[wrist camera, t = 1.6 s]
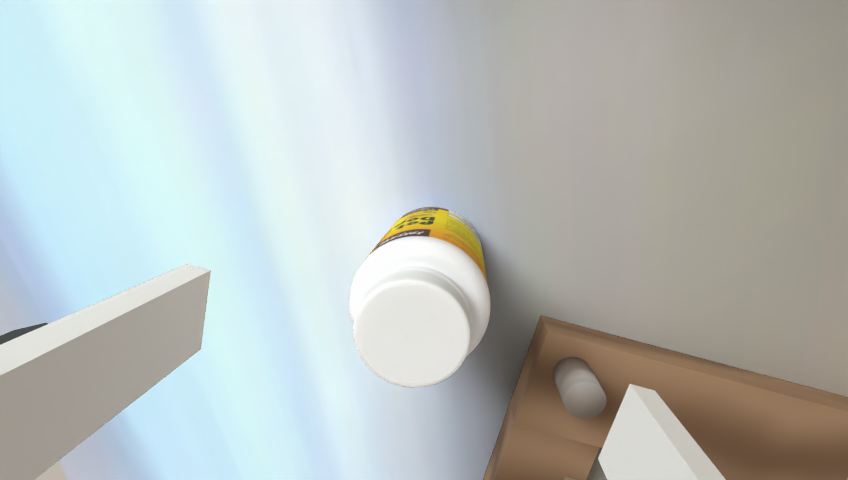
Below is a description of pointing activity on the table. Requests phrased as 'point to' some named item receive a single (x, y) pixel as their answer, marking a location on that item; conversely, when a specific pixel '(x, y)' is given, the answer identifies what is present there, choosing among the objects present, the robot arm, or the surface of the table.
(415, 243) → the supplement bottle
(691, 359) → the wooden slotted board
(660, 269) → the table surface
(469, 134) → the table surface
